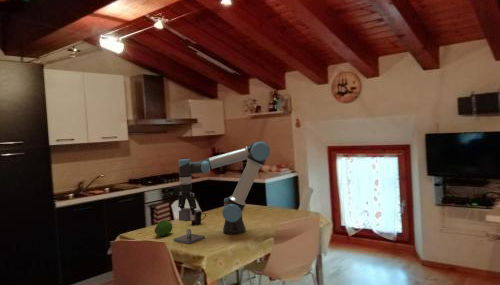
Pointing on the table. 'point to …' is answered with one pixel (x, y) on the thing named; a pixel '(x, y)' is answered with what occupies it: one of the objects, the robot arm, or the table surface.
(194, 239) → the grey peg base
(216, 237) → the table surface
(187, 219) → the grey block
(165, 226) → the fruit
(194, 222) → the coffee mug
